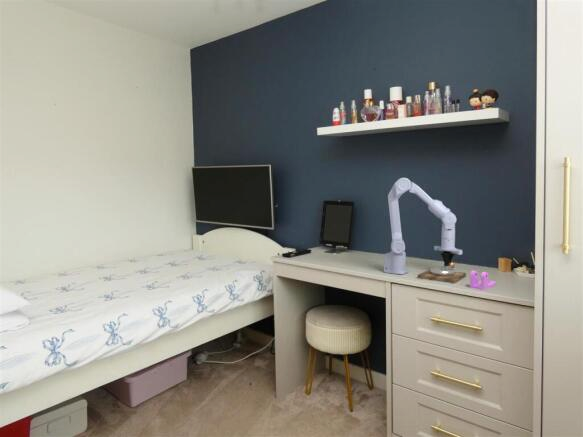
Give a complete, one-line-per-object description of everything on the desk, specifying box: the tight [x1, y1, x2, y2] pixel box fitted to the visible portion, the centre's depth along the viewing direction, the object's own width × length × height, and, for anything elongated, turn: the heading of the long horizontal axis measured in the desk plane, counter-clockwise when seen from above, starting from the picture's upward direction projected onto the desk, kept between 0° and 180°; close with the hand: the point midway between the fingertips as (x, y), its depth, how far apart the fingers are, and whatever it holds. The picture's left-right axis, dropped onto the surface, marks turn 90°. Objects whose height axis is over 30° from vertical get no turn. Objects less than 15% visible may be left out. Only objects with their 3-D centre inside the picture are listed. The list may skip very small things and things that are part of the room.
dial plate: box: [417, 268, 467, 284], centre depth 190 cm, size 16×16×2 cm
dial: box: [429, 261, 456, 276], centre depth 191 cm, size 13×10×4 cm
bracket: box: [469, 269, 497, 291], centre depth 173 cm, size 13×6×7 cm, turn 132°
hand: (447, 268), depth 195 cm, fingers closed, pressing on dial
